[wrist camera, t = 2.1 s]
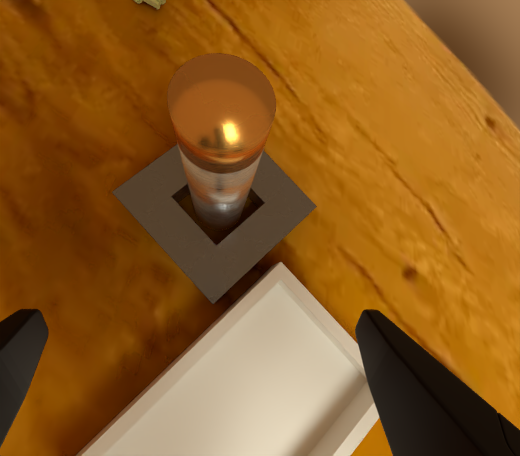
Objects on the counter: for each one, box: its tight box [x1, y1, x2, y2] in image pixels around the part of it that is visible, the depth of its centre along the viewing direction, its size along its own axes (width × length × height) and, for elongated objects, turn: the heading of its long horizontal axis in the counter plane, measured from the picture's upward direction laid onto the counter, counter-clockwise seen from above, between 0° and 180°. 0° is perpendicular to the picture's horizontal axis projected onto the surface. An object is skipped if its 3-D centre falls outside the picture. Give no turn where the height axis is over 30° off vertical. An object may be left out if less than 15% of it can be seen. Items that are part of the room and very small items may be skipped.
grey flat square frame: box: [112, 144, 317, 304], centre depth 21 cm, size 10×10×2 cm
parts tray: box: [75, 262, 379, 456], centre depth 18 cm, size 11×18×3 cm, turn 133°
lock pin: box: [167, 53, 276, 231], centre depth 16 cm, size 4×4×13 cm
